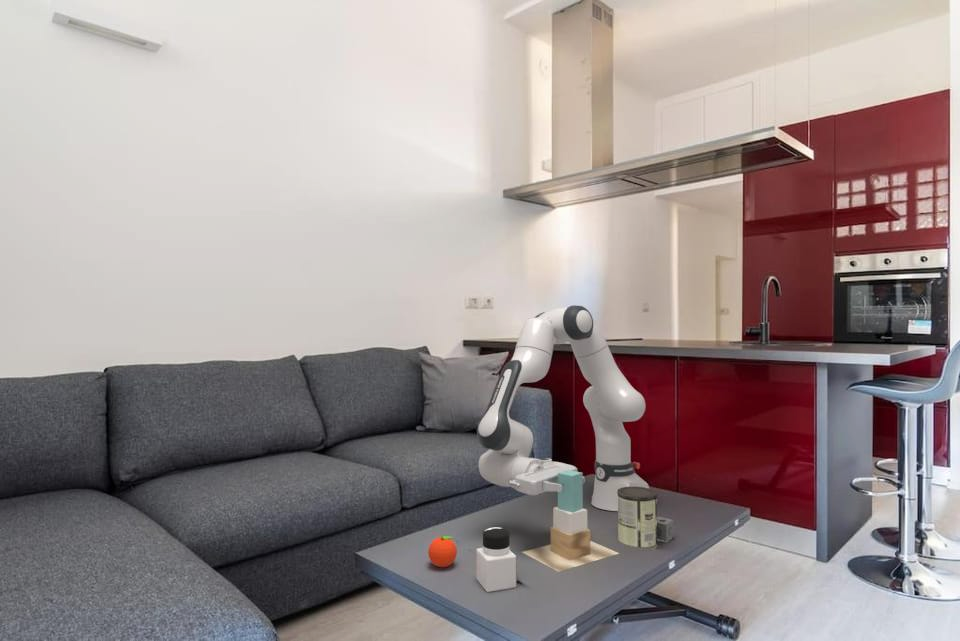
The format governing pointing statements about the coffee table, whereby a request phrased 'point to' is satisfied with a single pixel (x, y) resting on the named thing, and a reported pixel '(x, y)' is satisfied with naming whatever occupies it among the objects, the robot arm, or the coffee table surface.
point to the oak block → (570, 544)
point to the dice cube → (664, 528)
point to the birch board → (561, 563)
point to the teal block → (570, 491)
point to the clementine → (442, 551)
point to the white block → (570, 520)
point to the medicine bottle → (496, 561)
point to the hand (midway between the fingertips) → (573, 484)
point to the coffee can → (637, 516)
